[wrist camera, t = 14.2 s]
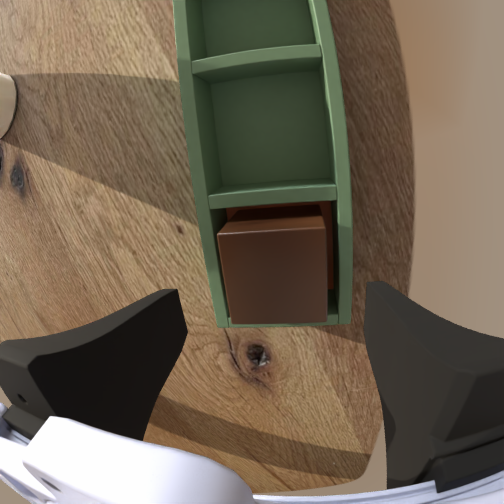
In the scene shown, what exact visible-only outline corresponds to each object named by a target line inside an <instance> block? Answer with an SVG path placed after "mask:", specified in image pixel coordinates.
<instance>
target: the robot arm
mask: <svg viewBox="0 0 504 504" xmlns="http://www.w3.org/2000/svg"><path fill="white" fill-rule="evenodd" d="M187 333H188V330H187V326H186V322H185V319H184V315H183V311H182V307H181V302H180V298H179V294H178V290H177V289H162V290H159V291H157V292H154V293H152V294H150V295H148V296H146V297H144V298H142V299H140V300H138V301H136V302H134V303H132V304H130V305H129V306H127V307H125V308H123V309H121V310H119V311H116V312H114V313H112V314H110V315H108V316H106V317H104V318H102V319H99V320H97V321H94V322H92V323H89V324H87V325H84V326H81V327H78V328H75V329H71V330H68V331H64V332H61V333H57V334H52V335H48V336H42V337H36V338H28V339H17V340H6V341H3V342H2V343H1V344H0V386H1V388H2V390H3V391H4V393H5V394H6V396H7V397H8V399H9V400H10V401H11V403H12V405H11V407H10V408H9V409H8V408H7V407H6V406H5V405H4V404H2V403H1V402H0V479H1V480H3V481H4V482H5V483H6V484H7V485H9V486H10V487H11V488H12V489H14V490H15V491H16V492H17V493H19V494H20V495H22V496H23V497H24V498H25V499H27V500H28V501H29V502H31V503H32V504H504V339H503V338H499V337H494V336H490V335H486V334H483V333H479V332H476V331H473V330H470V329H467V328H464V327H462V326H459V325H457V324H454V323H452V322H450V321H448V320H445V319H444V318H441V317H439V316H437V315H436V314H434V313H432V312H430V311H429V310H427V309H425V308H423V307H422V306H420V305H418V304H417V303H415V302H414V301H412V300H411V299H409V298H408V297H406V296H405V295H403V294H402V293H401V292H399V291H398V290H396V289H395V288H393V287H392V286H390V285H389V284H387V283H386V282H384V281H375V282H367V287H366V304H365V318H364V335H365V342H366V348H367V353H368V356H369V360H370V363H371V367H372V370H373V373H374V377H375V380H376V384H377V388H378V391H379V395H380V400H381V404H382V411H383V420H384V427H385V428H384V429H385V441H386V458H387V490H381V491H374V492H367V493H357V494H346V495H332V496H269V495H255V494H252V491H251V488H250V487H249V486H248V485H247V484H246V483H245V482H244V481H243V480H242V479H241V478H240V477H239V476H238V475H237V473H236V472H235V471H234V470H232V469H230V468H228V467H226V466H224V465H222V464H220V463H218V462H216V461H214V460H212V459H210V458H208V457H204V456H201V455H197V454H193V453H190V452H187V451H183V450H180V449H177V448H171V447H166V446H162V445H157V444H152V443H148V442H144V441H143V437H144V434H145V431H146V428H147V425H148V422H149V418H150V416H151V413H152V410H153V408H154V405H155V402H156V400H157V398H158V395H159V393H160V391H161V389H162V387H163V386H164V384H165V382H166V380H167V378H168V376H169V374H170V372H171V371H172V369H173V367H174V365H175V363H176V361H177V359H178V357H179V355H180V353H181V351H182V348H183V346H184V343H185V340H186V336H187Z"/></svg>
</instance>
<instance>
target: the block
mask: <svg viewBox="0 0 504 504" xmlns="http://www.w3.org/2000/svg"><path fill="white" fill-rule="evenodd" d="M217 239H218V246H219V252H220V258H221V265H222V271H223V277H224V283H225V289H226V295H227V301H228V307H229V312H230V318H231V323H232V324H295V323H319V322H327V320H328V277H327V238H326V226H325V223H324V219H323V216H322V212H321V209H320V206H319V205H318V204H317V205H300V206H285V207H271V208H257V209H245V210H238V211H237V212H236V213H235V214H234V215H233V216H232V218H231V219H230V220H229V221H228V222H227V223H226V224H225V226H224V227H223V228H222V229H221V230H220V231H219V232H218V234H217Z"/></svg>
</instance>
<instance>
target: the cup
mask: <svg viewBox="0 0 504 504" xmlns="http://www.w3.org/2000/svg"><path fill="white" fill-rule="evenodd" d="M16 107H17V88H16V83H15V81H14V80H13V79H12V77H10V76H9V75H5V74H2V73H0V138H2V137H3V136H4V135H5V134H6V132H7V131H8V130H9V129H10V126H11V124H12V122H13V119H14V116H15V112H16Z"/></svg>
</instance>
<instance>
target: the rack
mask: <svg viewBox="0 0 504 504" xmlns="http://www.w3.org/2000/svg"><path fill="white" fill-rule="evenodd" d="M173 12H174V26H175V39H176V51H177V62H178V72H179V82H180V92H181V101H182V110H183V118H184V126H185V134H186V142H187V150H188V157H189V164H190V171H191V178H192V185H193V192H194V198H195V205H196V211H197V217H198V223H199V230H200V235H201V241H202V247H203V253H204V259H205V264H206V270H207V275H208V281H209V286H210V291H211V296H212V302H213V307H214V312H215V317H216V322H217V327H218V328H229V327H297V326H321V325H337V324H350V323H351V307H352V278H353V220H352V191H351V173H350V158H349V145H348V134H347V124H346V114H345V106H344V98H343V90H342V83H341V76H340V69H339V63H338V56H337V51H336V45H335V39H334V34H333V29H332V24H331V19H330V14H329V10H328V5H327V1H326V0H173ZM317 204H318V205H319V206H320V209H321V212H322V216H323V219H324V223H325V226H326V238H327V277H328V320H327V322H319V323H295V324H232V323H231V318H230V312H229V307H228V301H227V295H226V289H225V283H224V277H223V271H222V265H221V258H220V252H219V246H218V239H217V234H218V232H219V231H220V230H221V229H222V228H223V227H224V226H225V224H226V223H227V222H228V221H229V220H230V219H231V218H232V216H233V215H234V214H235V213H236V212H237V211H238V210H245V209H257V208H271V207H285V206H300V205H317Z"/></svg>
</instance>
